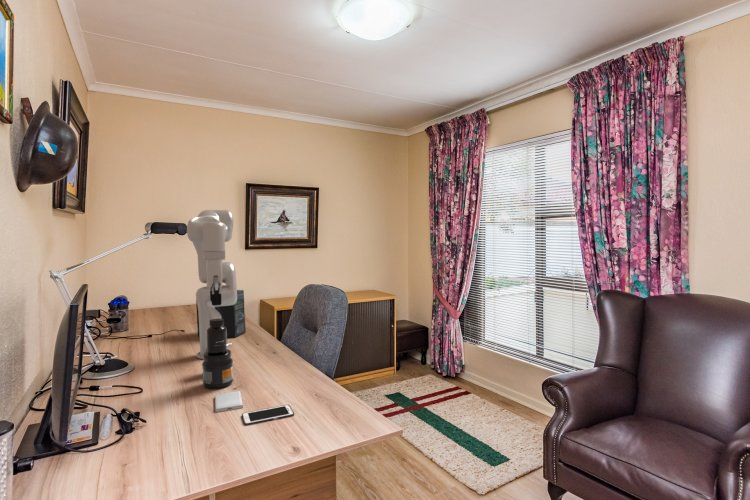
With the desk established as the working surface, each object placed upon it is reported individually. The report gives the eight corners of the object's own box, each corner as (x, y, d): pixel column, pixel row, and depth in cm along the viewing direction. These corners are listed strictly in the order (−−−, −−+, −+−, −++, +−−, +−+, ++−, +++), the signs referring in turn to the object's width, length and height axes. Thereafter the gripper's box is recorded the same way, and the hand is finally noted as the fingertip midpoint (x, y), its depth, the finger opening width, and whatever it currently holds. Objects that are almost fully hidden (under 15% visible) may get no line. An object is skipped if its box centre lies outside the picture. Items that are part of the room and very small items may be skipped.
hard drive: (215, 394, 139) (215, 408, 127) (240, 390, 142) (243, 404, 130) (215, 399, 139) (215, 413, 127) (240, 395, 142) (243, 409, 130)
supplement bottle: (220, 355, 147) (219, 322, 146) (203, 354, 148) (202, 321, 147) (230, 349, 153) (229, 318, 153) (214, 349, 155) (213, 317, 154)
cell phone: (241, 416, 125) (241, 413, 125) (289, 407, 131) (289, 404, 131) (244, 427, 118) (244, 423, 118) (295, 416, 124) (294, 413, 124)
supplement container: (239, 381, 154) (238, 350, 153) (217, 391, 144) (216, 358, 143) (218, 377, 158) (217, 347, 157) (196, 387, 148) (195, 354, 148)
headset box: (196, 337, 221) (195, 289, 220) (209, 331, 233) (207, 286, 232) (235, 338, 218) (234, 289, 216) (246, 332, 229) (244, 286, 228)
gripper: (202, 255, 155) (203, 300, 156) (204, 257, 140) (205, 307, 140) (223, 254, 158) (224, 298, 159) (227, 257, 143) (228, 305, 143)
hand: (215, 302), depth 150 cm, fingers open, 9 cm apart
